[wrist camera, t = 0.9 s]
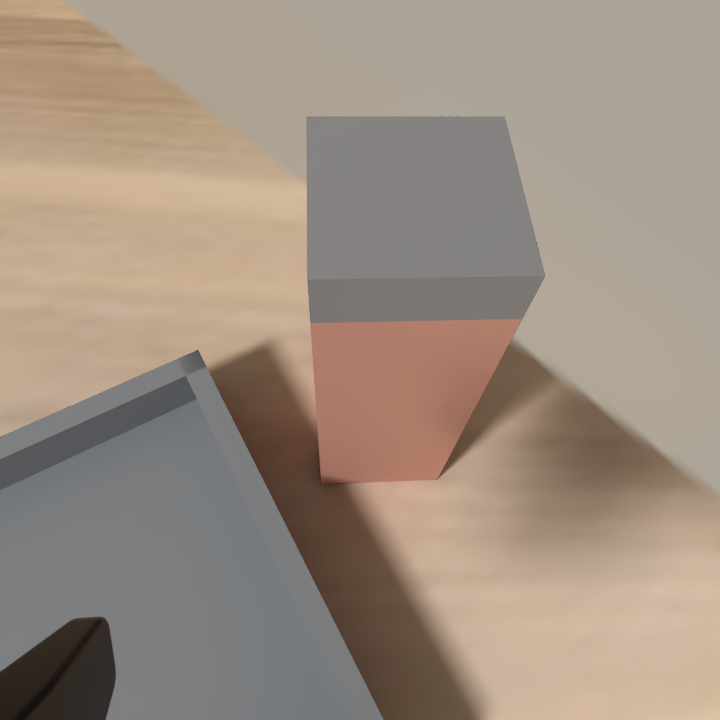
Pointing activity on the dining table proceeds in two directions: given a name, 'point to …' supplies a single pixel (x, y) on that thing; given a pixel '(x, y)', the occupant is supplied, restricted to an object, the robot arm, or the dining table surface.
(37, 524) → the tray
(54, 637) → the robot arm
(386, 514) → the dining table surface
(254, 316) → the dining table surface
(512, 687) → the dining table surface
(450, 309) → the pink and gray block
